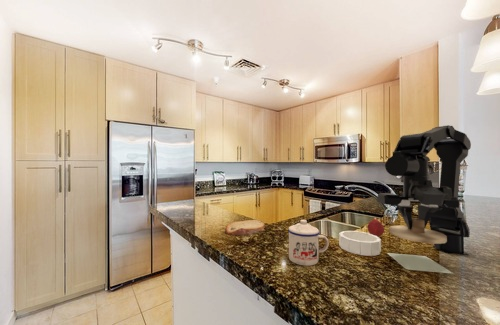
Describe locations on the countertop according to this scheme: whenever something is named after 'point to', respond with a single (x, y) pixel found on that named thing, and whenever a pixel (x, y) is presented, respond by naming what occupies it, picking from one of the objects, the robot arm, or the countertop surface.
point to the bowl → (360, 243)
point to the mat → (418, 263)
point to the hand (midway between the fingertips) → (415, 229)
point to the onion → (375, 227)
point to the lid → (418, 233)
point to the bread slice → (244, 227)
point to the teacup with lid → (305, 243)
